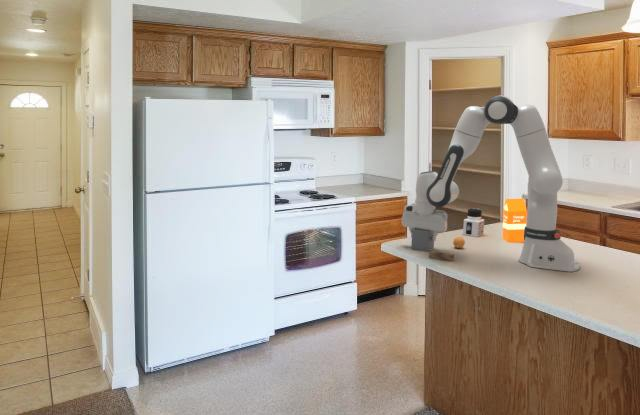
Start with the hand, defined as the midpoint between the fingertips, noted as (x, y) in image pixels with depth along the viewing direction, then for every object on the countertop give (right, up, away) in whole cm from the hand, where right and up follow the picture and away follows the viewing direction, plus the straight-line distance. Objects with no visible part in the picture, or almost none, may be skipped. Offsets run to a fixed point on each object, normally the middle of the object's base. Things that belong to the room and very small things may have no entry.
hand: (423, 239), depth 232 cm
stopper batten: (+4, -7, -16) cm, 18 cm away
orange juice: (+47, -2, +19) cm, 51 cm away
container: (+31, 0, +30) cm, 43 cm away
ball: (+16, -2, +3) cm, 17 cm away
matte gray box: (0, -4, +1) cm, 4 cm away
